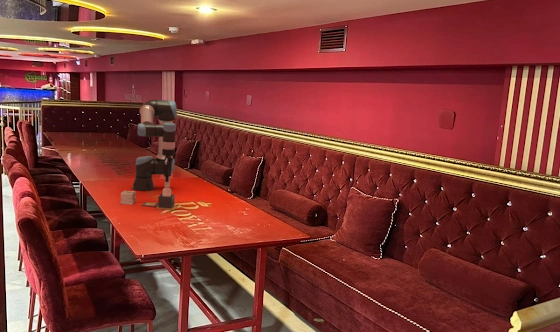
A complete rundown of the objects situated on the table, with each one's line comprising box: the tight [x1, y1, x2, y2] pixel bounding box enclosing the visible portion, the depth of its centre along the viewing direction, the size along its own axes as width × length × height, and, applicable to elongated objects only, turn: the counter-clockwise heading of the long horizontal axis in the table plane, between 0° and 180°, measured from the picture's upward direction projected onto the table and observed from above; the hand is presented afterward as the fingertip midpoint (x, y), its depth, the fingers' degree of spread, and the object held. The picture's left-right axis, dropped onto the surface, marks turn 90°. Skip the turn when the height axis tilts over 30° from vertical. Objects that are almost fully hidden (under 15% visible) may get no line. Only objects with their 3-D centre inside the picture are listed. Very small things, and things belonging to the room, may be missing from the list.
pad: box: [141, 201, 158, 208], centre depth 294 cm, size 9×9×1 cm
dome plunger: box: [162, 186, 172, 197], centre depth 289 cm, size 5×5×10 cm
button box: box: [155, 193, 177, 211], centre depth 289 cm, size 10×10×8 cm
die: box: [120, 190, 137, 206], centre depth 294 cm, size 7×7×7 cm
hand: (167, 186), depth 288 cm, fingers closed
